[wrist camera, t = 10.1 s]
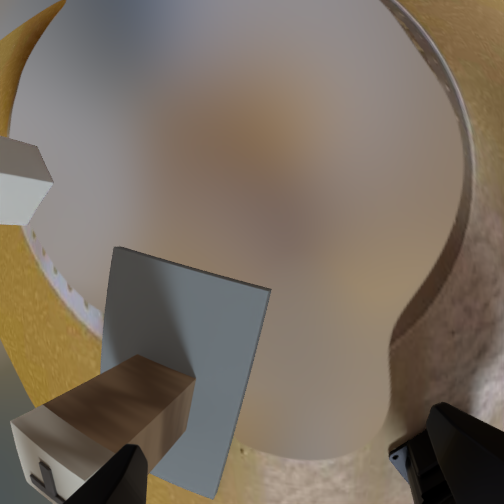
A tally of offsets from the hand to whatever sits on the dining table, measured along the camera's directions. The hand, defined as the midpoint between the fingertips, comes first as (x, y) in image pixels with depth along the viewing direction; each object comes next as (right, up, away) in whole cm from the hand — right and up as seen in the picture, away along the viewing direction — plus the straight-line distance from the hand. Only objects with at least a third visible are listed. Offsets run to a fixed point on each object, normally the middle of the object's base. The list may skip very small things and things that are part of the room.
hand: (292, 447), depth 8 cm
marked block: (-8, -5, +14) cm, 17 cm away
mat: (-8, -5, +15) cm, 18 cm away
